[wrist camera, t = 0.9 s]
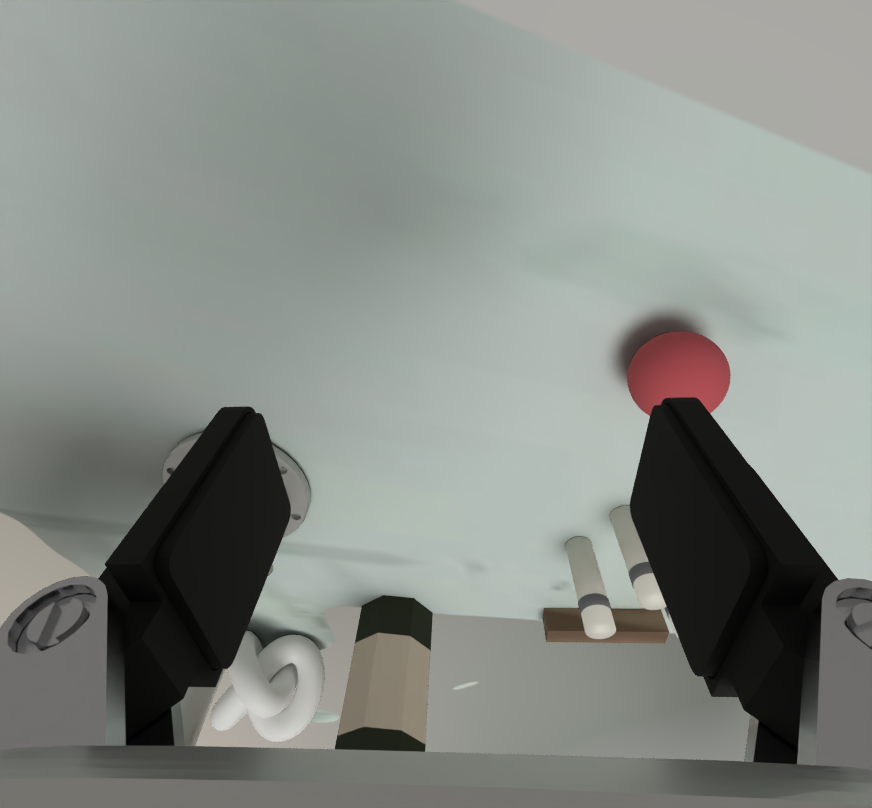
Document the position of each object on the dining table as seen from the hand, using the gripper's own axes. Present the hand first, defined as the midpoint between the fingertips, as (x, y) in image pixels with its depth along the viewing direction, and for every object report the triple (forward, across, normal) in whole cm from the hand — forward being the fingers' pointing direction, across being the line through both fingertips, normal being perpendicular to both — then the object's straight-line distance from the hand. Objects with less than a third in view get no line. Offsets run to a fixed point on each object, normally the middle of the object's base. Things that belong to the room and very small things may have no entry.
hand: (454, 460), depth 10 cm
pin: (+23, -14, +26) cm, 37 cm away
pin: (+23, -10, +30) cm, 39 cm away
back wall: (+23, -14, +41) cm, 49 cm away
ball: (+20, -14, +10) cm, 26 cm away
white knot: (+23, +23, +47) cm, 57 cm away
